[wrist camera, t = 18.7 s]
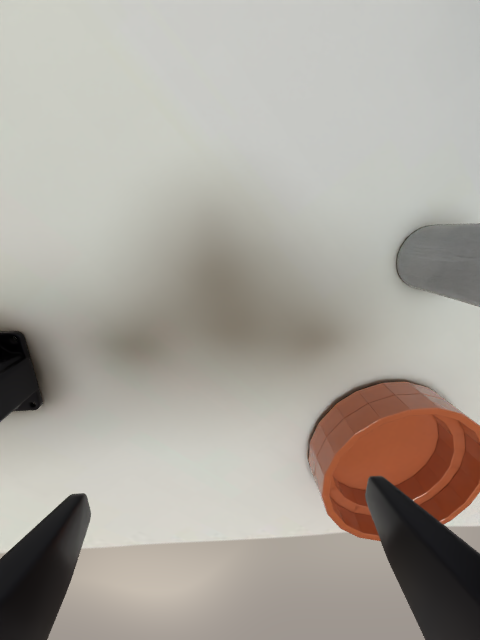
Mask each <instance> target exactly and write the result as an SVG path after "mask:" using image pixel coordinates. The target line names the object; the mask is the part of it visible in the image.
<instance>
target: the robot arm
mask: <svg viewBox="0 0 480 640" xmlns="http://www.w3.org/2000/svg"><path fill="white" fill-rule="evenodd" d="M14 337H16V339H17V340H15V339H14ZM33 402H34V403H35V404H34V403H33ZM42 404H43V403H42V398H41V395H40V391H39V387H38V383H37V380H36V376H35V373H34V369H33V366H32V362H31V359H30V356H29V352H28V348H27V345H26V341H25V338H24V336H23V334H22V333H20V332H18V331H0V422H1V421H2V420H3V419H4V418H6V417H7V416H8V415H9V414H10V413H11V412H13V411H27V410H37V409H38V408H39V407H40V406H41V405H42ZM365 498H366V503H367V505H368V508H369V511H370V514H371V516H372V519H373V522H374V524H375V527H376V530H377V532H378V535H379V538H380V540H381V543H382V546H383V548H384V551H385V553H386V556H387V558H388V561H389V563H390V565H391V567H392V569H393V572H394V574H395V576H396V578H397V580H398V582H399V584H400V587H401V589H402V591H403V593H404V595H405V597H406V599H407V601H408V604H409V606H410V608H411V610H412V612H413V614H414V616H415V618H416V620H417V622H418V625H419V627H420V629H421V631H422V633H423V636H424V638H425V640H480V554H479V553H478V552H477V551H476V550H474V549H473V548H472V547H470V546H469V545H468V544H467V543H466V542H464V541H463V540H462V539H461V538H459V537H458V536H457V535H456V534H454V533H453V532H452V531H451V530H449V529H448V528H447V527H446V526H444V525H443V524H442V523H441V522H439V521H438V520H437V519H436V518H434V517H433V516H432V515H431V514H429V513H428V512H427V511H426V510H424V509H423V508H422V507H421V506H419V505H418V504H417V503H416V502H414V501H413V500H412V499H411V498H409V497H408V496H407V495H406V494H404V493H403V492H402V491H401V490H399V489H398V488H397V487H396V486H394V485H393V484H392V483H391V482H389V481H388V480H387V479H386V478H384V477H383V476H370V477H369V478H368V482H367V487H366V493H365ZM90 517H91V511H90V507H89V503H88V499H87V496H86V494H84V493H81V494H72V495H70V496H69V497H67V498H66V499H65V500H64V501H63V502H62V503H61V504H60V505H59V506H58V507H56V508H55V509H54V510H53V511H52V512H51V513H50V514H49V515H48V516H47V517H45V518H44V519H43V520H42V521H41V522H40V523H39V524H38V525H37V526H36V527H35V528H33V529H32V530H31V531H30V532H29V533H28V534H27V535H26V536H25V537H24V538H23V539H21V540H20V541H19V542H18V543H17V544H16V545H15V546H14V547H13V548H12V549H11V550H9V551H8V552H7V553H6V554H5V555H4V556H3V557H2V558H1V559H0V640H47V639H48V636H49V634H50V631H51V629H52V626H53V624H54V621H55V619H56V617H57V614H58V612H59V609H60V607H61V604H62V602H63V599H64V597H65V594H66V592H67V589H68V587H69V584H70V581H71V578H72V575H73V572H74V569H75V566H76V563H77V560H78V557H79V553H80V550H81V547H82V544H83V541H84V538H85V535H86V531H87V528H88V525H89V522H90Z"/></svg>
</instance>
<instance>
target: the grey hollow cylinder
mask: <svg viewBox="0 0 480 640" xmlns="http://www.w3.org/2000/svg"><path fill="white" fill-rule="evenodd" d="M397 269H398V273H399V275H400V277H401V279H402V280H403V281H404V282H405V283H406V284H408V285H410V286H412V287H415V288H417V289H421V290H424V291H428V292H431V293H434V294H438V295H441V296H445V297H448V298H452V299H455V300H458V301H462V302H465V303H469V304H472V305H475V306H479V307H480V223H479V224H447V225H431V226H426V227H423V228H420V229H418V230H417V231H415V232H414V233H412V234H411V235H410V236H409V237H408V238H407V239H406V240H405V242H404V243H403V245H402V247H401V249H400V251H399V254H398V258H397Z"/></svg>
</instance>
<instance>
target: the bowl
mask: <svg viewBox="0 0 480 640" xmlns="http://www.w3.org/2000/svg"><path fill="white" fill-rule="evenodd" d="M309 464H310V467H311V470H312V473H313V476H314V479H315V482H316V485H317V487H318V490H319V493H320V495H321V498H322V501H323V504H324V506H325V509H326V512H327V514H328V515H329V516H330V517H331V519H332V520H333V521H334V522H335V523H336V524H337V525H338V526H339V527H340V528H341V529H343V530H345V531H347V532H349V533H351V534H353V535H355V536H357V537H359V538H365V539H371V540H377V541H381V540H380V538H379V535H378V532H377V530H376V527H375V524H374V522H373V519H372V516H371V514H370V511H369V508H368V505H367V503H366V498H365V493H366V487H367V482H368V478H369V477H370V476H383V477H384V478H386V479H387V480H388V481H389V482H391V483H392V484H393V485H394V486H396V487H397V488H398V489H399V490H401V491H402V492H403V493H404V494H406V495H407V496H408V497H409V498H411V499H412V500H413V501H414V502H416V503H417V504H418V505H419V506H421V507H422V508H423V509H424V510H426V511H427V512H428V513H429V514H431V515H432V516H433V517H434V518H436V519H437V520H438V521H439V522H441V523H442V524H445V523H447V522H449V521H451V520H452V519H453V518H455V517H456V516H457V515H458V514H459V513H461V512H462V511H463V510H464V509H465V508H467V507H468V506H469V505H470V504H471V503H472V502H473V500H474V499H475V498H476V496H477V495H478V494H479V492H480V425H478V424H477V423H476V422H474V421H473V420H472V419H470V418H469V417H468V416H466V415H465V414H464V413H462V412H461V411H460V410H458V409H457V408H456V407H454V406H453V405H452V404H450V403H449V402H448V401H446V400H445V399H444V398H442V397H441V396H440V395H438V394H437V393H436V392H434V391H433V390H431V389H430V388H428V387H424V386H421V385H417V384H413V383H410V382H386V383H380V384H377V385H374V386H370V387H367V388H364V389H361V390H358V391H356V392H354V393H352V394H351V395H349V396H348V397H346V398H345V399H343V400H341V401H340V402H338V403H337V404H336V405H335V406H334V407H333V408H332V409H331V410H330V411H329V412H328V413H327V414H326V415H325V416H324V417H323V419H322V420H321V421H320V422H319V424H318V426H317V428H316V430H315V432H314V434H313V436H312V438H311V440H310V449H309Z"/></svg>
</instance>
